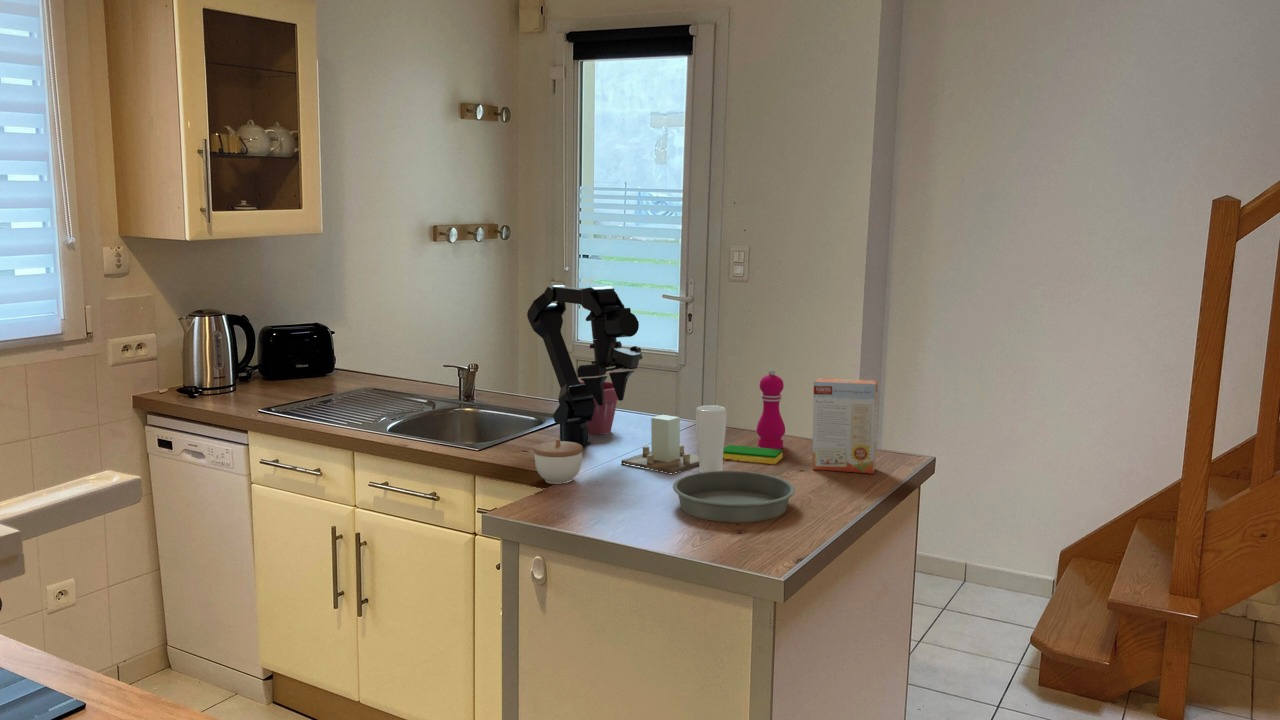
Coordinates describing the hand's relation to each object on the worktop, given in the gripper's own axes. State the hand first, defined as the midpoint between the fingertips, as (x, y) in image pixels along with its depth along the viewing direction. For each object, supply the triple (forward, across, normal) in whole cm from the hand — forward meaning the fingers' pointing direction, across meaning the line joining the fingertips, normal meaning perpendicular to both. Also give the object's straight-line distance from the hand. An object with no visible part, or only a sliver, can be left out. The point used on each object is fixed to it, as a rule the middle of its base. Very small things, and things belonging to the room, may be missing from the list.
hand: (611, 402), depth 241 cm
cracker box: (+20, +16, -51) cm, 57 cm away
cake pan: (+20, -23, -41) cm, 51 cm away
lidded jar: (+14, -24, +1) cm, 28 cm away
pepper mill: (+16, +29, -28) cm, 43 cm away
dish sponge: (+17, +16, -28) cm, 37 cm away
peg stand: (+15, +2, -12) cm, 20 cm away
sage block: (+14, +2, -13) cm, 19 cm away
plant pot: (+10, +23, +21) cm, 32 cm away
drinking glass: (+17, -1, -26) cm, 31 cm away
